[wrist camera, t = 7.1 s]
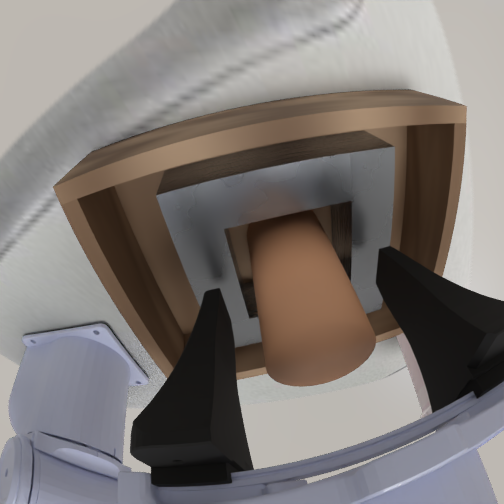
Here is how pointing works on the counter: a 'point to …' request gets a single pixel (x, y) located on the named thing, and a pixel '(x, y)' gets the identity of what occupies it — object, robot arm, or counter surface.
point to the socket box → (227, 142)
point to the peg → (305, 303)
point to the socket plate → (281, 212)
